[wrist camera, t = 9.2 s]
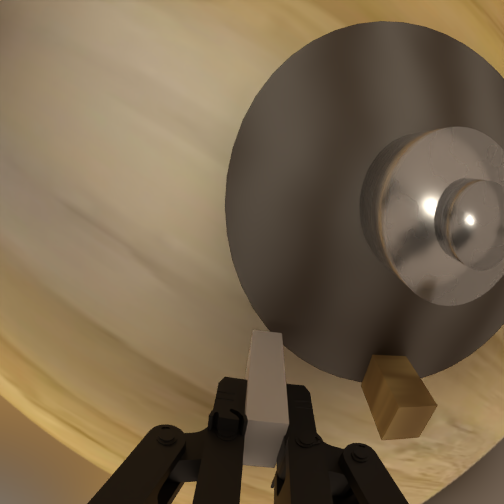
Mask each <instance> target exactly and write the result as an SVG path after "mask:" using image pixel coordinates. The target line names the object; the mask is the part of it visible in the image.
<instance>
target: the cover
mask: <svg viewBox="0 0 504 504" xmlns="http://www.w3.org/2000/svg"><path fill="white" fill-rule="evenodd" d="M359 210H360V221H361V226H362V230H363V233H364V237H365V239H366V241H367V243H368V245H369V247H370V249H371V250H372V252H373V254H374V255H375V256H376V257H377V259H378V260H379V261H380V262H381V263H382V264H384V265H385V266H386V267H387V268H388V269H389V270H390V271H391V272H392V273H393V274H395V275H396V276H397V277H398V278H399V279H400V280H401V281H402V282H403V283H404V284H406V285H407V286H408V287H409V288H410V289H411V290H412V291H413V292H414V293H415V294H417V295H418V296H420V297H421V298H422V299H424V300H426V301H428V302H430V303H434V304H437V305H444V306H456V305H461V304H465V303H468V302H470V301H473V300H475V299H477V298H479V297H480V296H482V295H483V294H485V293H486V292H488V291H489V290H490V289H491V288H492V287H493V286H494V285H495V284H496V283H497V282H498V281H499V280H500V279H501V277H502V276H503V275H504V150H503V149H502V148H501V147H500V146H499V145H498V144H497V143H496V142H495V141H494V140H493V139H492V138H490V137H489V136H487V135H486V134H484V133H482V132H480V131H478V130H475V129H472V128H468V127H448V128H442V129H436V130H430V131H424V132H418V133H413V134H408V135H405V136H402V137H400V138H398V139H396V140H394V141H392V142H391V143H389V144H388V145H387V146H385V147H384V148H383V149H382V150H381V151H380V152H379V153H378V155H377V156H376V157H375V158H374V160H373V162H372V163H371V165H370V166H369V168H368V171H367V173H366V175H365V178H364V181H363V184H362V188H361V194H360V204H359Z"/></svg>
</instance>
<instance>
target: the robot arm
mask: <svg viewBox="0 0 504 504" xmlns="http://www.w3.org/2000/svg"><path fill="white" fill-rule="evenodd" d="M276 462H277V471H276V474H275V476H274V479H273V482H272V484H271V488H274V504H409V503H408V502H407V500H406V499H405V497H404V496H403V494H402V493H401V491H400V490H399V488H398V486H397V485H396V483H395V482H394V480H393V479H392V477H391V476H390V474H389V473H388V471H387V469H386V468H385V466H384V465H383V463H382V462H381V460H380V459H379V457H378V455H377V454H376V452H375V451H374V450H373V449H372V448H371V447H369V446H367V445H366V444H361V443H353V444H350V445H348V446H347V447H346V448H345V449H341V448H338V447H334V446H331V445H328V444H326V443H325V442H323V440H322V438H321V437H320V436H319V435H318V434H317V432H316V426H315V420H314V414H313V409H312V403H311V396H310V392H309V391H308V390H307V389H306V387H305V386H304V385H293V384H286V376H285V363H284V351H283V340H282V333H276V332H268V331H261V330H254V329H253V331H252V337H251V343H250V349H249V355H248V361H247V367H246V374H245V380H244V379H237V378H230V377H224V378H223V379H222V380H221V381H220V382H219V384H218V389H217V394H216V399H215V403H214V408H213V410H212V411H211V413H210V415H209V421H208V427H207V428H206V429H204V430H202V431H200V432H195V433H183V432H182V430H181V429H179V428H177V427H175V426H172V425H159V426H156V427H154V428H152V429H151V430H150V431H149V432H148V433H147V435H146V436H145V437H144V438H143V439H142V441H141V442H140V443H139V444H138V445H137V447H136V448H135V449H134V450H133V451H132V452H131V454H130V455H129V456H128V457H127V458H126V460H125V461H124V462H123V463H122V464H121V465H120V467H119V468H118V469H117V470H116V471H115V472H114V474H113V475H112V476H111V477H110V479H108V481H107V482H106V483H105V484H104V485H103V487H102V488H101V489H100V490H99V491H98V492H97V493H96V494H95V496H94V497H93V498H92V499H91V500H90V501H89V502H88V504H171V503H172V502H173V500H174V498H175V497H176V495H177V494H178V492H179V490H180V489H181V487H182V486H183V484H184V482H193V481H197V484H196V489H195V494H194V499H193V504H239V502H240V490H241V478H242V466H243V465H250V466H260V467H271V468H274V467H275V465H276Z"/></svg>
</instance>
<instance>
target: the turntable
mask: <svg viewBox="0 0 504 504" xmlns="http://www.w3.org/2000/svg"><path fill="white" fill-rule="evenodd" d="M448 127H468V128H472V129H475V130H478V131H480V132H482V133H484V134H486V135H487V136H489V137H490V138H492V139H493V140H494V141H495V142H496V143H497V144H498V145H499V146H500V147H501V148H502V149H503V150H504V78H503V77H502V76H501V75H500V74H499V73H498V71H496V70H495V69H494V68H493V67H492V66H491V65H490V64H489V63H488V62H487V61H486V60H485V59H484V58H483V57H481V56H480V55H479V54H477V53H476V52H475V51H473V50H472V49H470V48H469V47H468V46H466V45H465V44H463V43H461V42H459V41H457V40H456V39H454V38H452V37H450V36H448V35H446V34H443V33H441V32H438V31H435V30H433V29H430V28H427V27H423V26H419V25H414V24H409V23H404V22H385V21H379V22H370V23H361V24H356V25H352V26H348V27H345V28H341V29H338V30H335V31H333V32H330V33H328V34H326V35H324V36H322V37H320V38H318V39H316V40H314V41H312V42H310V43H309V44H307V45H306V46H304V47H303V48H302V49H300V50H299V51H297V52H296V53H294V54H293V55H292V56H291V57H290V58H288V59H287V60H286V61H285V62H284V63H283V64H282V65H281V66H280V67H279V68H278V69H277V70H276V71H275V72H274V73H273V74H272V75H271V77H270V78H269V79H268V81H267V82H266V83H265V85H264V86H263V87H262V89H261V90H260V91H259V93H258V94H257V95H256V97H255V99H254V101H253V102H252V104H251V106H250V108H249V110H248V112H247V113H246V115H245V117H244V119H243V121H242V124H241V127H240V129H239V132H238V135H237V138H236V140H235V143H234V146H233V149H232V154H231V159H230V164H229V169H228V173H227V182H226V197H225V213H226V227H227V236H228V241H229V246H230V251H231V255H232V260H233V263H234V266H235V269H236V272H237V275H238V277H239V280H240V283H241V286H242V288H243V290H244V292H245V294H246V295H247V297H248V299H249V301H250V303H251V305H252V307H253V309H254V310H255V312H256V313H257V314H258V316H259V317H260V319H261V320H262V321H263V323H264V324H265V326H266V327H267V328H268V329H269V331H270V332H276V333H282V340H283V345H284V346H285V347H287V348H288V349H289V350H290V351H292V352H293V353H294V354H296V355H297V356H298V357H299V358H301V359H302V360H304V361H306V362H307V363H309V364H311V365H313V366H314V367H316V368H318V369H320V370H322V371H325V372H327V373H330V374H332V375H335V376H338V377H341V378H345V379H349V380H354V381H358V382H362V384H361V387H362V389H363V392H364V395H365V397H366V400H367V402H368V405H369V408H370V410H371V413H372V416H373V418H374V421H375V424H376V426H377V429H378V432H379V435H380V437H381V440H393V439H406V438H417V437H419V436H420V435H421V433H422V431H423V430H424V428H425V426H426V425H427V423H428V421H429V419H430V418H431V416H432V414H433V412H434V411H435V409H436V407H437V404H436V402H435V401H434V399H433V398H432V396H431V394H430V393H429V391H428V390H427V388H426V386H425V385H424V383H423V382H422V380H421V379H420V378H423V377H426V376H429V375H432V374H435V373H437V372H440V371H442V370H444V369H446V368H449V367H451V366H453V365H454V364H456V363H458V362H460V361H461V360H463V359H464V358H466V357H468V356H469V355H471V354H472V353H473V352H474V351H476V350H477V349H478V348H480V347H481V346H482V345H483V344H485V343H486V342H487V341H488V340H489V339H490V338H491V337H492V336H493V335H494V334H495V333H496V332H497V331H498V330H499V329H500V328H501V326H502V325H503V324H504V275H503V276H502V277H501V279H500V280H499V281H498V282H497V283H496V284H495V285H494V286H493V287H492V288H491V289H490V290H489V291H488V292H486V293H485V294H483V295H482V296H480V297H479V298H477V299H475V300H473V301H470V302H468V303H465V304H461V305H456V306H444V305H437V304H434V303H430V302H428V301H426V300H424V299H422V298H421V297H420V296H418V295H417V294H415V293H414V292H413V291H412V290H411V289H410V288H409V287H408V286H407V285H406V284H404V283H403V282H402V281H401V280H400V279H399V278H398V277H397V276H396V275H395V274H393V273H392V272H391V271H390V270H389V269H388V268H387V267H386V266H385V265H384V264H382V263H381V262H380V261H379V260H378V259H377V257H376V256H375V255H374V254H373V252H372V250H371V249H370V247H369V245H368V243H367V241H366V239H365V237H364V233H363V230H362V226H361V221H360V210H359V204H360V194H361V188H362V184H363V181H364V178H365V175H366V173H367V171H368V168H369V166H370V165H371V163H372V162H373V160H374V158H375V157H376V156H377V155H378V153H379V152H380V151H381V150H382V149H383V148H384V147H385V146H387V145H388V144H389V143H391V142H392V141H394V140H396V139H398V138H400V137H402V136H405V135H408V134H413V133H418V132H424V131H430V130H436V129H442V128H448Z"/></svg>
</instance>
